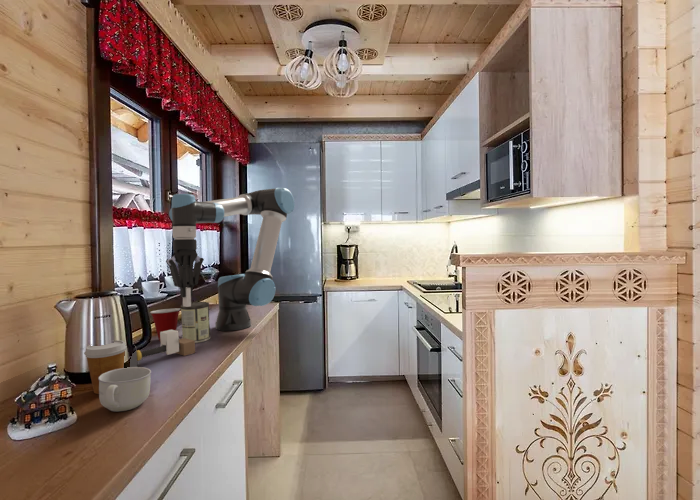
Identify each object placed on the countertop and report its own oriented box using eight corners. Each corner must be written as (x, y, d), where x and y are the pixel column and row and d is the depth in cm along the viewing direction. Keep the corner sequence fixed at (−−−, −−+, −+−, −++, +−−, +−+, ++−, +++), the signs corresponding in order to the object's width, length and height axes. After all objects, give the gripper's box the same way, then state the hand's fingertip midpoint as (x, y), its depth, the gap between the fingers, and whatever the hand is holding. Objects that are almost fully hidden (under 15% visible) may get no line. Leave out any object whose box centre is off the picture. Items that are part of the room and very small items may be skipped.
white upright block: (172, 349, 131) (171, 329, 131) (179, 351, 128) (178, 331, 128) (160, 352, 128) (159, 332, 127) (167, 354, 125) (166, 333, 125)
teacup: (119, 396, 96) (117, 365, 96) (161, 396, 96) (159, 364, 95) (78, 423, 82) (76, 387, 82) (127, 423, 82) (125, 386, 82)
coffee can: (190, 336, 154) (189, 301, 154) (215, 336, 153) (213, 301, 153) (176, 343, 144) (175, 306, 144) (202, 343, 143) (201, 306, 143)
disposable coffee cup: (109, 381, 107) (107, 339, 106) (137, 383, 104) (134, 340, 104) (77, 395, 98) (74, 349, 97) (106, 398, 95) (104, 351, 95)
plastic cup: (180, 334, 158) (178, 305, 157) (183, 340, 149) (182, 309, 148) (150, 338, 152) (149, 308, 152) (152, 344, 143) (151, 313, 143)
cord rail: (184, 349, 136) (183, 330, 135) (195, 352, 131) (194, 332, 131) (117, 367, 118) (116, 345, 118) (127, 372, 114) (126, 349, 114)
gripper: (172, 238, 125) (174, 310, 125) (207, 238, 135) (209, 304, 136) (160, 239, 129) (163, 308, 130) (195, 238, 139) (197, 302, 140)
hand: (187, 306), depth 133 cm, fingers closed
